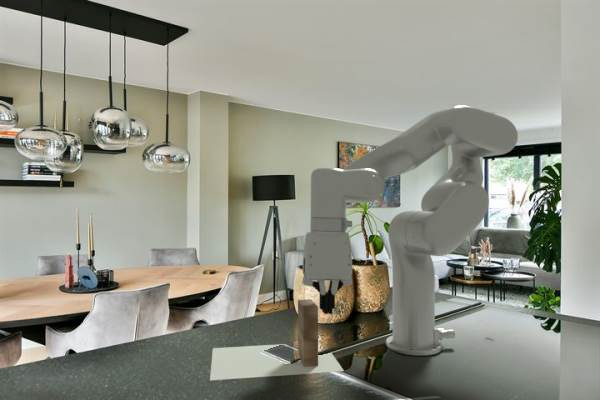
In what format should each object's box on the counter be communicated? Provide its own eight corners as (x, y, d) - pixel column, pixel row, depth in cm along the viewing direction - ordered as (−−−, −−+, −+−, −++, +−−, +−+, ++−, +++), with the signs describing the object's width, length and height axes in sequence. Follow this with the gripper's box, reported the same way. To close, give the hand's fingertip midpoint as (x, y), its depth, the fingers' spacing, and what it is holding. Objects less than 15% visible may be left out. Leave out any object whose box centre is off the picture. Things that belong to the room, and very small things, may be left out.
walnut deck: (311, 353, 95) (311, 299, 95) (318, 365, 88) (318, 307, 88) (298, 354, 95) (297, 299, 95) (303, 366, 88) (303, 307, 88)
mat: (323, 343, 103) (323, 341, 103) (344, 373, 86) (344, 370, 86) (212, 350, 99) (212, 348, 99) (209, 382, 81) (209, 380, 81)
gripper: (356, 225, 97) (355, 307, 97) (290, 225, 95) (289, 309, 95) (367, 227, 90) (366, 315, 90) (296, 227, 87) (295, 318, 87)
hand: (327, 312), depth 92 cm, fingers closed
